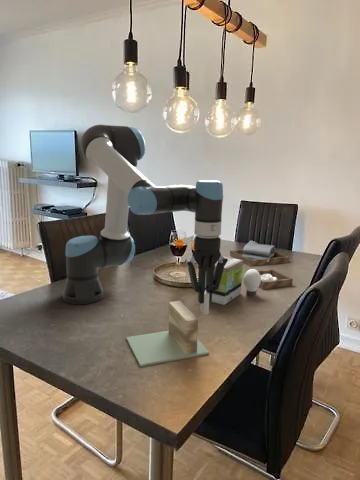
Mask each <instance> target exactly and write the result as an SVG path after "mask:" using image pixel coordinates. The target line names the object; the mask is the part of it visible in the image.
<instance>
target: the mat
mask: <svg viewBox="0 0 360 480" xmlns="http://www.w3.org/2000/svg"><path fill="white" fill-rule="evenodd" d="M125 338H126V339H125V340H126V341H127V343H128V345H129V347H130V349H131V351H132V353H133V355H134V357H135V359H136V361H137V362H138V365H139V367H147V366H151V365H155V364H156V365H157V364H163V363H168V362H173V361H178V360H179V361H180V360H183V359H184V360H185V359H188V358H194V357H201V356H205V355H209V354H210V351H209V350H208V349H207V348H206V347H205V346H204V344H202V342H201V341H200V340H199V338H197V352H195V353H190V354H185V353H184V352H183V350H182V349H181V348H180V346H179V345H178V344H177V342H176V341H175V340H174V339H173V337H172V336H171V335H170V333H169V330H165V331H158V332H153V333H152V332H151V333H150V332H149V333H145V334H139V335H132V336H127V337H125Z"/></svg>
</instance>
